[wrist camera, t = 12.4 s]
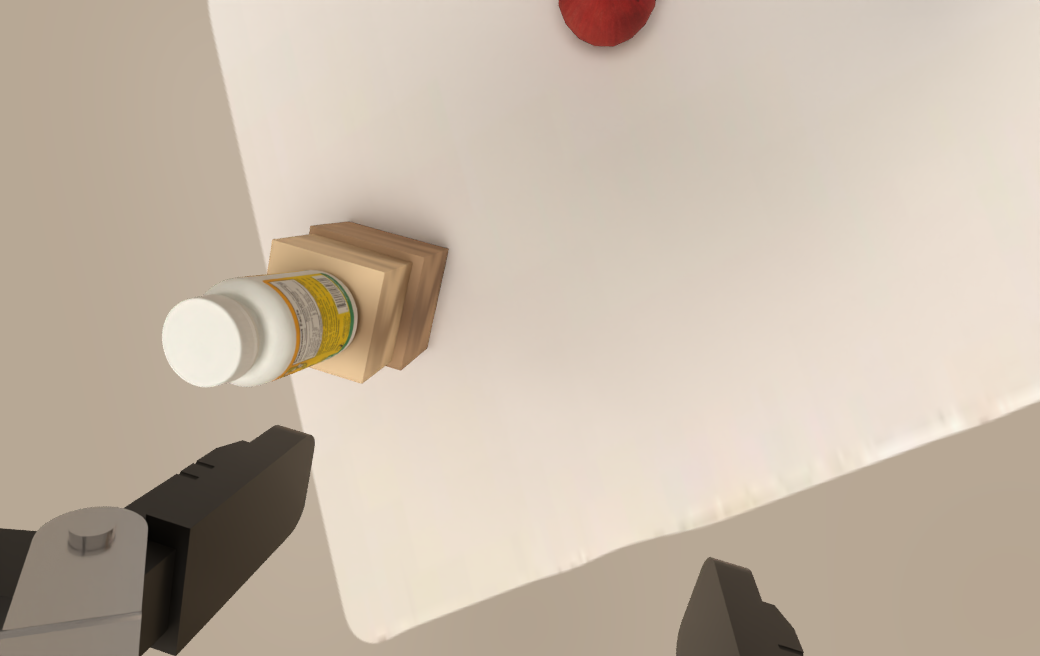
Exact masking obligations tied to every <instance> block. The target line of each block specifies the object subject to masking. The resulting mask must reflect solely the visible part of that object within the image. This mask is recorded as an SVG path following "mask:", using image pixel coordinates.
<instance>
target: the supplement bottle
mask: <svg viewBox="0 0 1040 656" xmlns="http://www.w3.org/2000/svg"><path fill="white" fill-rule="evenodd" d="M357 320H358V313H357V307H356V304H355V301H354V299H353V296H352V294H351V293H350V291H349V290H348V288H347V287H346V286H345V285H344V284H343V283H342V282H341V281H340V280H339V279H338V278H336V277H335V276H333V275H331V274H329V273H326V272H323V271H318V270H303V271H295V272H285V273H276V274H267V275H256V276H247V277H237V278H231V279H227V280H224V281H222V282H219V283H218V284H216V285H214V286H213V287H211V288H210V289H209V290H208V291H207V292H206V293H205V294H204V295H203V296H201V297H195V298H190V299H187V300H184V301H182V302H180V303H179V304H177V305H176V306H175V307H174V308H173V309H172V310H171V311H170V313H169V314H168V316H167V318H166V320H165V323H164V326H163V331H162V343H163V348H164V353H165V355H166V358H167V360H168V363H169V364H170V365H171V367H172V369H173V370H174V371H175V372H176V373H177V374H178V375H179V376H180V377H181V378H182V379H184V380H185V381H187V382H189V383H190V384H193V385H195V386H199V387H214V386H219V385H222V384H225V383H230V384H233V385H237V386H243V387H253V386H259V385H263V384H266V383H269V382H271V381H274V380H277V379H279V378H282V377H285V376H287V375H290V374H293V373H295V372H297V371H300V370H302V369H305V368H307V367H310V366H313V365H315V364H317V363H320V362H323V361H325V360H328V359H330V358H332V357H334V356H336V355H337V354H339V353H341V352H342V351H343V350H345V349H346V348H347V347H348V346H349V344H350V343H351V341H352V340H353V338H354V335H355V332H356V329H357Z"/></svg>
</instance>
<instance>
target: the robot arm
mask: <svg viewBox="0 0 1040 656" xmlns="http://www.w3.org/2000/svg"><path fill="white" fill-rule="evenodd" d="M314 446H315V441H314V437H313V436H312V435H309V434H306V433H303V432H300V431H296V430H293V429H290V428H286V427H283V426H279V425H275V426H273V427H272V428H270V429H269V430H267V431H266V432H264V433H263V434H261V435H260V436H259V437H257V438H256V439H255V440H253V441H251V442H250V443H249V442H246V441H243V440H242V441H239V442H236V443H232V444H229V445H226V446H222V447H219V448H216V449H214V450H213V451H211V452H210V453H208V454H207V455H205V456H204V457H202V458H201V459H199V460H197V462H196V464H194V463H193V464H191V465H190V466H188V467H187V468H185V469H184V470H182V471H181V472H180V474H179V475H178V474H176V475H174V476H173V477H171V478H170V479H168V480H167V481H165V482H164V483H162V484H160V485H159V486H157V487H156V488H154V489H153V490H151V491H149V492H148V493H146V494H145V495H143V496H142V497H140V498H139V499H137V500H135V501H134V502H132V503H131V504H129V505H128V506H126V507H125V508H118V507H91V508H84V509H79V510H75V511H72V512H68V513H65V514H63V515H60V516H58V517H56V518H54V519H52V520H50V521H49V522H47V523H45V524H44V525H43V526H42V527H41V528H40V529H39V530H38V531H26V530H14V529H13V530H12V529H1V528H0V656H142V655H143V653H145V652H146V651H147V650H148V649H149V648H150V647H151V648H154V649H157V650H160V651H163V652H165V653H168V654H171V655H174V656H176V655H177V654H178V653H179V652H180V651H181V650H182V649H183V648H184V647H185V646H186V645H187V644H188V643H189V642H190V641H191V639H192V638H193V637H194V636H195V635H196V634H197V633H198V632H199V631H200V630H201V629H202V628H203V627H204V625H206V623H207V622H208V621H209V620H210V619H211V618H212V617H213V616H214V615H215V614H216V613H217V612H218V611H219V610H220V609H221V608H222V607H223V605H224V604H225V603H226V602H227V601H228V600H229V599H230V598H231V597H232V596H233V595H234V594H235V593H236V591H238V589H239V588H240V587H241V586H242V585H243V584H244V583H245V582H246V581H247V580H248V579H249V578H250V577H251V576H252V575H253V574H254V572H255V571H256V570H257V569H258V568H259V567H260V566H261V565H262V564H263V563H264V562H265V561H266V560H267V558H269V556H270V555H271V554H272V553H273V552H274V551H275V550H276V549H277V548H278V547H279V546H280V545H281V544H282V543H283V542H284V541H285V539H286V538H287V537H288V536H289V535H290V534H291V533H292V531H293V530H294V529H295V527H296V525H297V523H298V521H299V519H300V517H301V514H302V512H303V508H304V505H305V500H306V493H307V488H308V482H309V477H310V471H311V465H312V459H313V453H314ZM676 651H677V652H676V656H803V653H804V652H803V649H802V647H801V645H800V642H799V640H798V637H797V635H796V633H795V630H794V628H793V627H792V626H791V625H790V623H789V622H788V621H787V620H786V619H785V618H784V616H783V615H782V614H781V613H780V611H779V610H778V609H777V608H776V607H775V605H772V604H769V603H766V602H763V601H762V599H761V597H760V594H759V591H758V588H757V586H756V583H755V580H754V577H753V575H752V572H751V571H750V570H749V569H747V568H744V567H741V566H737V565H734V564H731V563H728V562H724V561H721V560H718V559H714V558H711V557H709V558H708V559H707V560H706V561H705V562H704V564H703V566H702V569H701V571H700V574H699V577H698V580H697V582H696V585H695V587H694V590H693V593H692V595H691V598H690V601H689V603H688V606H687V609H686V611H685V614H684V617H683V619H682V622H681V625H680V629H679V633H678V640H677V648H676Z"/></svg>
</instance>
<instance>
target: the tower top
mask: <svg viewBox="0 0 1040 656" xmlns="http://www.w3.org/2000/svg"><path fill="white" fill-rule="evenodd" d="M412 264H413V263H412V262H409V261H405V260H402V259H399V258H395V257H392V256H388V255H385V254H381V253H378V252H374V251H371V250H368V249H364V248H361V247H357V246H354V245H350V244H347V243H344V242H340V241H337V240H333V239H330V238H326V237H323V236H319V235H316V234H309V235H302V236H295V237H288V238H280V239H273V240H272V245H271V252H270V258H269V265H268V271H267V274H276V273H285V272H295V271H303V270H318V271H323V272H326V273H329V274H331V275H333V276H335V277H336V278H338V279H339V280H340V281H341V282H342V283H343V284H344V285H345V286H346V287H347V288H348V290H349V291H350V293H351V294H352V296H353V299H354V301H355V304H356V307H357V313H358V320H357V329H356V332H355V335H354V338H353V340H352V341H351V343H350V344H349V346H348V347H347V348H346V349H345V350H343V351H342V352H341V353H339V354H337V355H336V356H334V357H332V358H330V359H328V360H325V361H323V362H320V363H317V364H315V365H313V366H310V368H313V369H316V370H320V371H323V372H326V373H329V374H332V375H336V376H339V377H342V378H345V379H348V380H352V381H355V382H358V383H361V384H362V383H363V382H365V381H366V380H367V379H369V378H370V377H371V376H373V375H374V374H375V373H377V372H378V371H379V370H380V369H382V368H383V367H384V366H386V365H387V364H388V363H390V362H391V361H392V356H393V352H394V347H395V343H396V338H397V333H398V329H399V324H400V319H401V315H402V310H403V306H404V301H405V296H406V292H407V287H408V283H409V278H410V273H411V269H412Z"/></svg>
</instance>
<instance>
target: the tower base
mask: <svg viewBox="0 0 1040 656" xmlns="http://www.w3.org/2000/svg"><path fill="white" fill-rule="evenodd" d="M309 234H316V235H319V236H323V237H326V238H330V239H333V240H337V241H340V242H344V243H347V244H350V245H354V246H357V247H361V248H364V249H368V250H371V251H374V252H378V253H381V254H385V255H388V256H392V257H395V258H399V259H402V260H405V261H409V262H412V263H413V264H412V269H411V273H410V278H409V283H408V287H407V292H406V296H405V301H404V306H403V310H402V315H401V319H400V324H399V329H398V333H397V338H396V343H395V347H394V352H393V356H392V361H391V362H390V363H388V364H387V365H386V366H388V367H391V368H394V369H398V370H402V369H403V368H404V367H406V366H407V365H408V364H409V363H410V362H411V361H413V360H414V359H415V358H416V357H417V356H419V355H420V354H421V353H422V352H423V351H424V350H426V349H427V346H428V342H429V337H430V332H431V328H432V323H433V319H434V314H435V310H436V305H437V300H438V296H439V291H440V287H441V282H442V278H443V273H444V269H445V264H446V259H447V255H448V250H449V249H447V248H443V247H440V246H436V245H432V244H429V243H425V242H422V241H418V240H414V239H411V238H407V237H403V236H400V235H396V234H392V233H389V232H385V231H381V230H378V229H374V228H370V227H367V226H363V225H360V224H356V223H352V222H340V223H332V224H323V225H314V226H310V232H309Z"/></svg>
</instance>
